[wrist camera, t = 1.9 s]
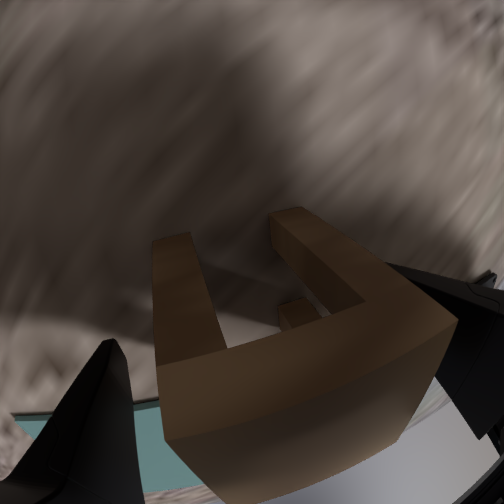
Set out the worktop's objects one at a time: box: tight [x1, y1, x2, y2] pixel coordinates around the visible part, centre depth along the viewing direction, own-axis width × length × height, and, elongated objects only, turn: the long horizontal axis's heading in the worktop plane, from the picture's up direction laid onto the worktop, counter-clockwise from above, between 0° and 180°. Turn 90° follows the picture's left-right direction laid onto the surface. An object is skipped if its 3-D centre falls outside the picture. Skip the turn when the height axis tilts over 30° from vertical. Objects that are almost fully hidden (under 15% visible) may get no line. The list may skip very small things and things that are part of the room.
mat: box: [15, 400, 204, 492], centre depth 14 cm, size 12×12×1 cm
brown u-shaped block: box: [152, 207, 459, 504], centre depth 8 cm, size 5×5×7 cm
